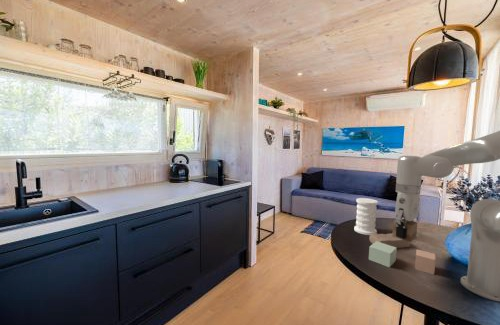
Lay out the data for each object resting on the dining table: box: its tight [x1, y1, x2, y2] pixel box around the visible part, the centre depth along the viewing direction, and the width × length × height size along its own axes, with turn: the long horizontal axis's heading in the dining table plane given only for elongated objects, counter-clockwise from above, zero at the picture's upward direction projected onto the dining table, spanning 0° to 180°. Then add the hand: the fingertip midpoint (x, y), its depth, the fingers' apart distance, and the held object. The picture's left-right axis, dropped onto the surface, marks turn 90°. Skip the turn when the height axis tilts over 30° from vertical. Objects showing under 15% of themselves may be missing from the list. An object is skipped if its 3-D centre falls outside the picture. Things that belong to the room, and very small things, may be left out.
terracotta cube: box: [414, 249, 436, 275], centre depth 89 cm, size 6×6×6 cm
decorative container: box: [353, 197, 379, 236], centre depth 126 cm, size 12×12×18 cm
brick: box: [368, 233, 411, 249], centre depth 110 cm, size 17×8×5 cm, turn 98°
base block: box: [368, 241, 398, 268], centre depth 96 cm, size 8×8×6 cm
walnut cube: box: [392, 219, 418, 243], centre depth 84 cm, size 6×6×6 cm
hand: (404, 234), depth 84 cm, fingers closed on walnut cube, 6 cm apart
